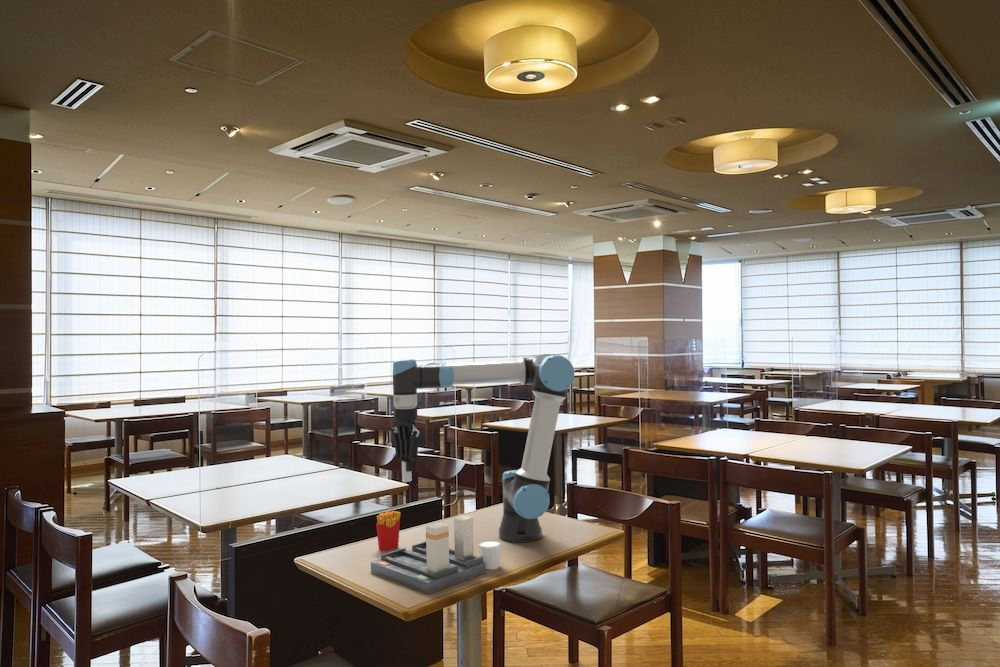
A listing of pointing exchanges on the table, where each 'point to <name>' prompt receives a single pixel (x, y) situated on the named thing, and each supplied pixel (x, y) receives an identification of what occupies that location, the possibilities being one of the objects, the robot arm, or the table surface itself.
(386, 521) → the french fries
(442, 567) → the handle
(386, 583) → the table surface
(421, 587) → the breaker panel
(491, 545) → the white short cylinder
